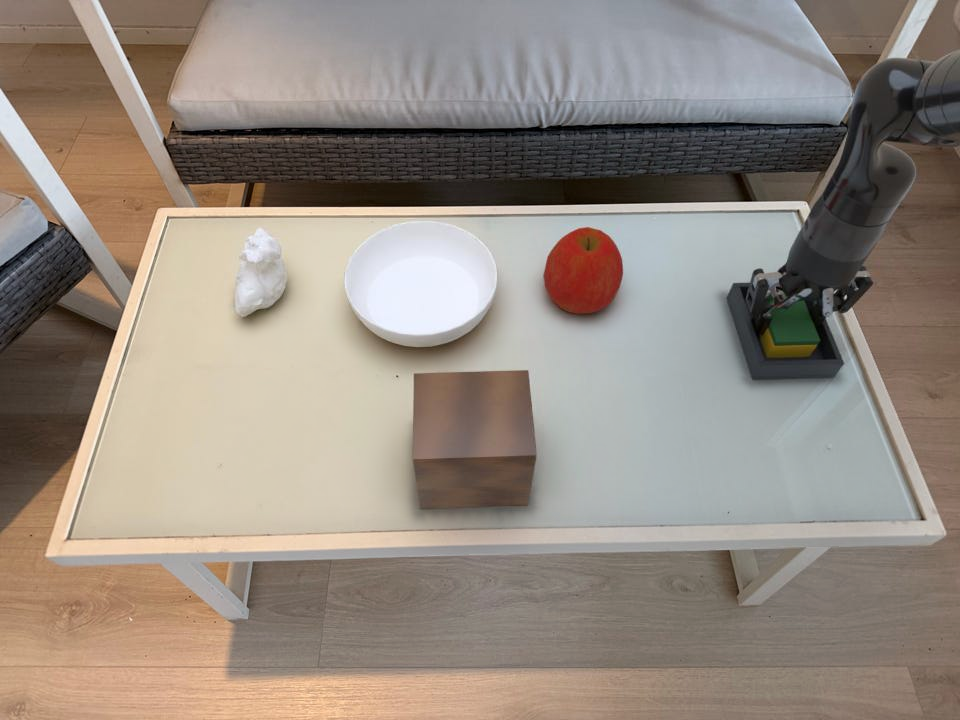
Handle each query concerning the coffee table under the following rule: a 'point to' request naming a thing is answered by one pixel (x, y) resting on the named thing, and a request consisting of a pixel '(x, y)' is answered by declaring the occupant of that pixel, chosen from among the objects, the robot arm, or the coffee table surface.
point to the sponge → (790, 333)
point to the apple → (583, 271)
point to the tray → (818, 365)
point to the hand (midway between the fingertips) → (782, 328)
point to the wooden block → (473, 439)
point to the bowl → (421, 283)
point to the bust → (259, 274)
